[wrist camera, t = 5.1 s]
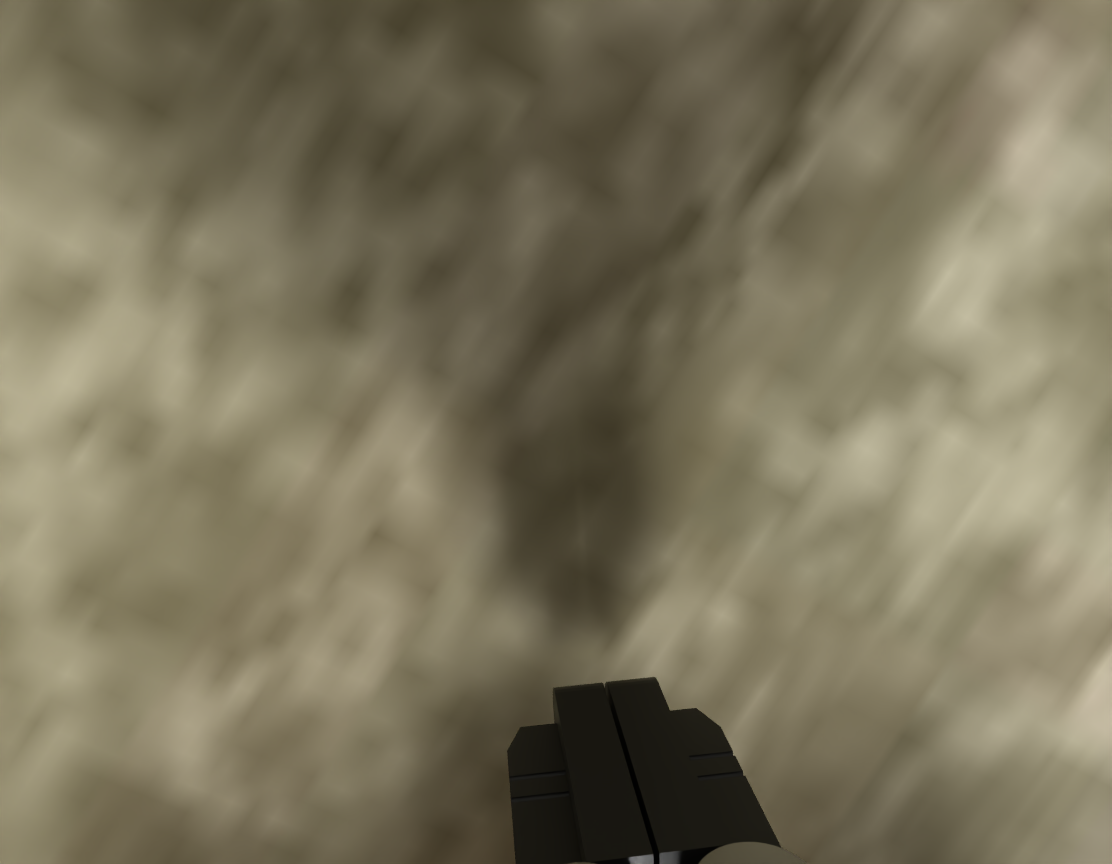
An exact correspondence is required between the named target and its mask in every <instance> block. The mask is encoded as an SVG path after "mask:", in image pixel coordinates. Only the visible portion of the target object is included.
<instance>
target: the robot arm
mask: <svg viewBox="0 0 1112 864" xmlns="http://www.w3.org/2000/svg"><path fill="white" fill-rule="evenodd" d="M553 707H554V723H555V724H546V725H537V726H527V727H520V729H519V731H518V733H517V734H516V736H515V738H514V740H513V742H512V743H511V745H510V747H509V749H508V751H507V753H508V766H509V779H510V793H511V806H512V819H513V833H514V846H515V859H516V864H807V863H806V862H805V861H804V860H802V859H801V858H800V857H798V856H797V855H795V854H793V853H791V852H789V851H788V850H785V849H783V848H781V846H780V844H779V842H778V840H777V838H776V836H775V834H774V832H773V830H772V828H771V826H770V824H769V822H768V820H767V818H766V816H765V814H764V812H763V810H762V808H761V806H760V804H759V802H758V800H757V798H756V796H755V794H754V792H753V790H752V788H751V786H750V784H749V782H748V781H747V779H746V777H745V776H743V771H742V769H741V767H740V765H739V763H738V761H737V759H736V757H735V756H733V751H732V749H731V747H730V745H729V743H728V741H727V739H726V737H725V735H724V733H723V731H722V729H721V727H720V726H719V725H717V724H716V723H715V722H713V721H712V720H711V719H710V718H708V717H707V716H706V715H704V714H703V713H702V712H701V711H699V710H698V709H697V708H692V709H683V710H673V711H670V710H669V707H668V705H667V703H666V700H665V698H664V695H663V693H662V690H661V688H660V686H659V683H658V681H657V679H656V678H655V677H650V678H640V679H630V680H621V681H611V682H606V683H605V688H604V685H603V683H594V684H584V685H575V686H565V687H556V688H553Z"/></svg>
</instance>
